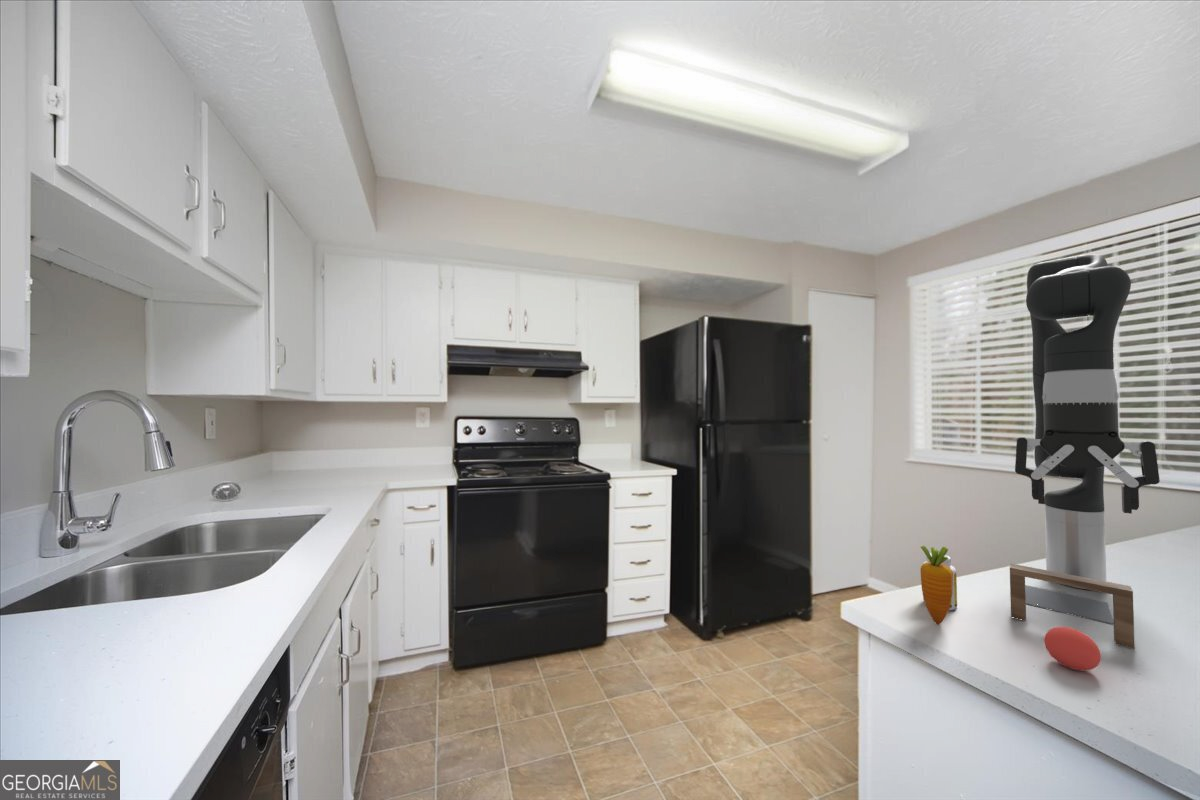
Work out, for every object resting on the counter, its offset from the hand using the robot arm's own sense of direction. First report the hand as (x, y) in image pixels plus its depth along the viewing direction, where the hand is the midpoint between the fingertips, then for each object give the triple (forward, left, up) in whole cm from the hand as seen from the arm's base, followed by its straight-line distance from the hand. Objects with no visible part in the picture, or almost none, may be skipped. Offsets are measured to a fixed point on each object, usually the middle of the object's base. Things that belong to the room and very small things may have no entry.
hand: (1081, 507), depth 64 cm
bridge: (-19, -1, -26) cm, 32 cm away
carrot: (-5, -18, -26) cm, 32 cm away
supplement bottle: (-15, -19, -26) cm, 36 cm away
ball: (-3, -1, -23) cm, 23 cm away
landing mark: (-33, -1, -26) cm, 42 cm away
